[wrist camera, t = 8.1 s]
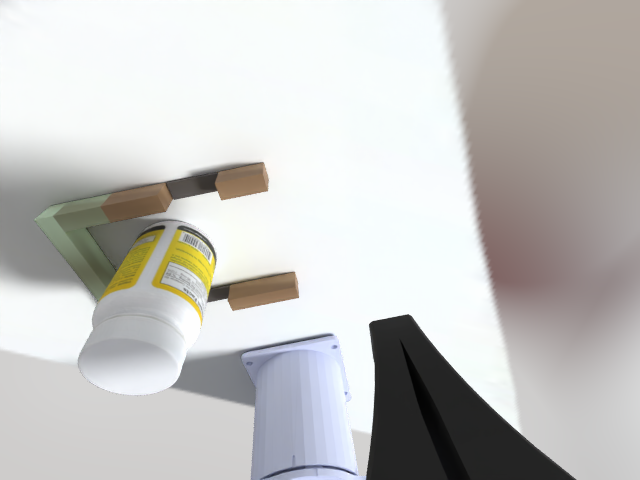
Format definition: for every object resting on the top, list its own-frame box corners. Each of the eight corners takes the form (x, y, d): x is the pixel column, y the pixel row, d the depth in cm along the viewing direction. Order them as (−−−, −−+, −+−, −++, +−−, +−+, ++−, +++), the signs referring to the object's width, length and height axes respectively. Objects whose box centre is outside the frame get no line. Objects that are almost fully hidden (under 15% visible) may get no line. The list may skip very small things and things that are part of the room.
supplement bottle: (141, 276, 22) (76, 400, 15) (132, 214, 19) (49, 328, 12) (217, 281, 22) (190, 401, 16) (219, 223, 20) (187, 335, 13)
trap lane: (297, 282, 23) (298, 297, 22) (131, 315, 23) (123, 332, 22) (263, 162, 18) (262, 173, 17) (50, 205, 18) (33, 219, 17)
